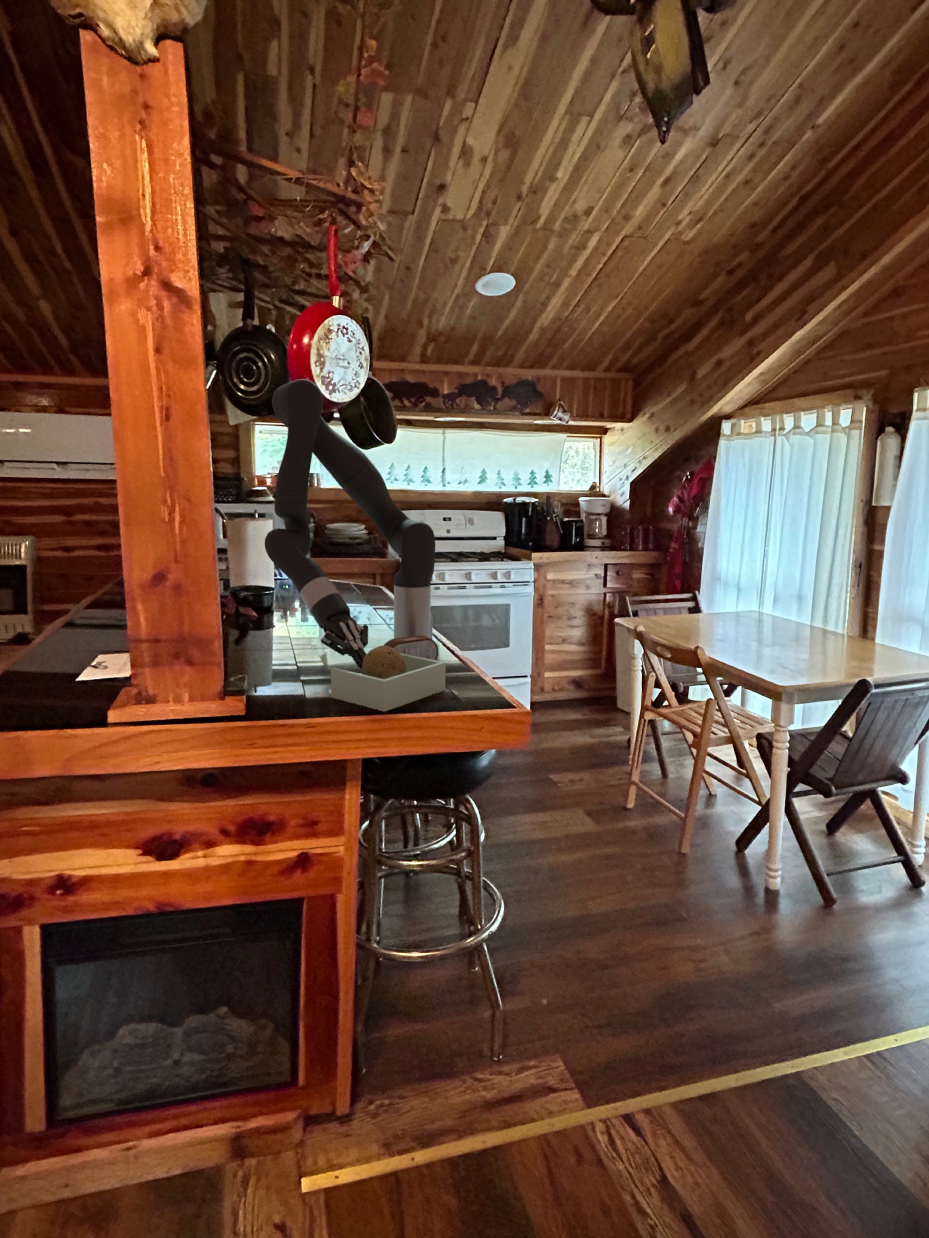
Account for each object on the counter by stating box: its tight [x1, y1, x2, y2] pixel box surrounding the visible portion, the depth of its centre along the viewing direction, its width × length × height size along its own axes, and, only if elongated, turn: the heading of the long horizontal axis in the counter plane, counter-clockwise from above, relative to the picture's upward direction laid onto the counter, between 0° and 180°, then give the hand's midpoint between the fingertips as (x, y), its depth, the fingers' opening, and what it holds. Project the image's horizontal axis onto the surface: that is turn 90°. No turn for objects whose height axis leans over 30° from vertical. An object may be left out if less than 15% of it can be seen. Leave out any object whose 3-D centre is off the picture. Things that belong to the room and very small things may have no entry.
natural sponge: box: [362, 645, 406, 679], centre depth 156 cm, size 9×9×10 cm
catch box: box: [330, 653, 447, 712], centre depth 156 cm, size 19×14×6 cm
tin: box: [382, 635, 439, 661], centre depth 172 cm, size 15×3×8 cm, turn 128°
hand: (366, 666), depth 159 cm, fingers closed
